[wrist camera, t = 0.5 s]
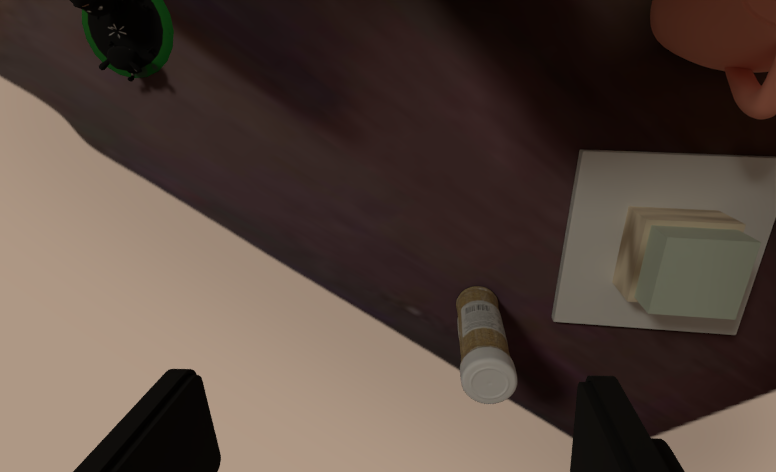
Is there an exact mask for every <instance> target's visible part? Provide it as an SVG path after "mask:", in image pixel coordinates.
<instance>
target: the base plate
mask: <svg viewBox="0 0 776 472" xmlns="http://www.w3.org/2000/svg"><path fill="white" fill-rule="evenodd" d="M629 206H634V207H655V208H676V209H696V210H717V211H721V212H723V213H725V214H726V215H728V216H730V217H732V218H734V219H736V220H738V221H740V222H742V223H744V224H746V226H745V229H744V232H743V233H745V234H747V235H749V236H750V237H752V238H754V239H756V240H758V241H760V242H761V245H760V248H759V251H758V254H757V257H756V260H755V263H754V266H753V269H752V272H751V275H750V278H749V281H748V284H747V287H746V290H745V293H744V296H743V299H742V302H741V305H740V308H739V311H738V314H737V317H736V320H731V319H717V318H703V317H689V316H675V315H660V314H648V313H647V312H646V310H645V309H644V308H643V307H642V306H641V305H640V303H639V302H627V300H626V299H625V298H624V297H623V295H622V294H621V293H620V292H619V290H618V289H617V288H616V287H615V285H614V284H613V283H612V281H613V276H614V271H615V267H616V262H617V258H618V253H619V248H620V244H621V239H622V234H623V230H624V225H625V220H626V216H627V211H628V207H629ZM775 218H776V157H774V156H747V155H720V154H692V153H665V152H638V151H610V150H583V149H580V151H579V156H578V162H577V168H576V174H575V180H574V186H573V192H572V198H571V204H570V210H569V216H568V222H567V228H566V234H565V240H564V246H563V252H562V258H561V264H560V270H559V276H558V281H557V287H556V293H555V299H554V305H553V311H552V319H553V321H554V322H565V323H578V324H592V325H605V326H619V327H632V328H646V329H659V330H673V331H686V332H700V333H713V334H727V335H736V333H737V330H738V327H739V324H740V321H741V318H742V315H743V312H744V309H745V307H746V304H747V301H748V298H749V295H750V292H751V289H752V286H753V283H754V280H755V277H756V274H757V271H758V268H759V265H760V262H761V259H762V256H763V253H764V250H765V247H766V245H767V242H768V239H769V236H770V233H771V230H772V227H773V224H774V221H775Z"/></svg>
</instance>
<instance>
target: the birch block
mask: <svg viewBox="0 0 776 472" xmlns="http://www.w3.org/2000/svg"><path fill="white" fill-rule="evenodd" d="M651 225H657V226H676V227H695V228H715V229H734V230H739V231H741V232H744V229H745V226H746V224H744V223H742V222H740V221H738V220H736V219H734V218H732V217H730V216H728V215H726V214H725V213H723V212H721V211H717V210H696V209H676V208H655V207H634V206H629V207H628V211H627V216H626V220H625V225H624V230H623V234H622V239H621V244H620V248H619V253H618V258H617V262H616V267H615V271H614V276H613V281H612V283H613V284H614V285H615V287H616V288H617V289H618V290H619V292H620V293H621V294H622V295H623V297H624V298H625V299H626V300H627V302H638V301H637V300H636V299H635V297H634V296H635V292H636V287H637V283H638V279H639V275H640V271H641V266H642V262H643V258H644V254H645V250H646V245H647V241H648V237H649V233H650V229H651Z"/></svg>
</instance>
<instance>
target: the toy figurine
mask: <svg viewBox="0 0 776 472" xmlns="http://www.w3.org/2000/svg"><path fill="white" fill-rule="evenodd" d="M70 1H71V2H72V3H73V5H74V6H75V7H77V8H81V9H82V24H83V28H84V32H85V35H86V39H87V41H88V43H89V44H90V46H91V48H92V50H93V52H94V53H95V55H96V56H97V57H98V58H99V59H100V60H101V61H102V62H103V63H101V64H100V65H99V68H100V69H101V70H105V69H106V68H107V67H108V68H110V69H112V70H113V71H115V72H116V73H118V74H120V75H124V76H127V77H128V80H129V81H133V80H134V78H141V77H148V76H150V75H152V74H154V73H156V72H158V71H159V70H160V69H161V68H162V66H163V65H164V64H165V63H166V62H167V60H168V58H169V55H170V53H171V50H172V47H173V32H174V31H173V26H172V22H171V17H170V13H169V11H168V9H167V7H166V5H165V3H164V1H163V0H70Z"/></svg>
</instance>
